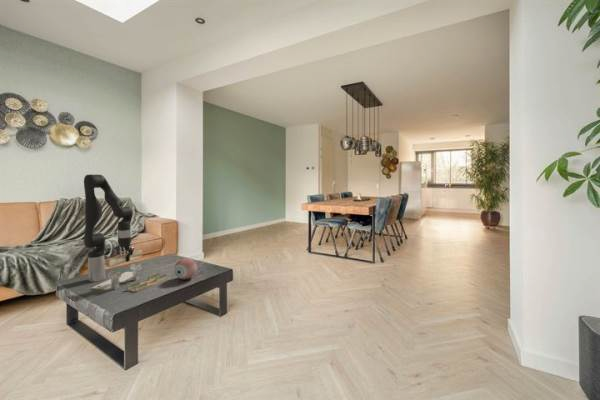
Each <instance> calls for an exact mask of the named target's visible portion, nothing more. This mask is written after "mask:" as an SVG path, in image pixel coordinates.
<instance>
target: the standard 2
mask: <svg viewBox="0 0 600 400" xmlns="http://www.w3.org/2000/svg"><path fill="white" fill-rule="evenodd" d="M142 269H143V268H142V264H141V263H139V264H137V265H136V263H132V264H130V265H129V270H130V271H131V272H132V273H133V277H132V281H134V282H138V281H140V278H141V277H140V276H141V275H140V273H141V272H140V270H142Z"/></svg>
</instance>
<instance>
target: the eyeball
mask: <svg viewBox="0 0 600 400" xmlns="http://www.w3.org/2000/svg"><path fill="white" fill-rule="evenodd" d="M175 263H176V264H174V269H173V271H174V275H175V276H176V278H178V279H180V280H190V279H191V278H192V277H194V276H195V274H196V272H197V271H198V270H197V268H198V267H197V262H196V261H194V260H193V258H189V257H184V258H181V259H179V260H178V261H177V262H175Z"/></svg>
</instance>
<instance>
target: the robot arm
mask: <svg viewBox="0 0 600 400" xmlns="http://www.w3.org/2000/svg"><path fill="white" fill-rule="evenodd" d="M83 187H84V198H85V200H84V201H85V205H84V206H85V208H84V215H85V217H84V218H85V222H84V223H85V225H84V234H83V244H84V246H85V248H87V249H90V248H94V249H93V250H91V251H89V252H88V253H87V261H88V262H87V265H88V267H87V280H88V281H89V282H91V283H93V282H100V281H103V280H105V279H106V259H105V251H106V238H105V235H104V234H103V233H101V232H99V233H94V231H95V230H94V229H95V227H96V226H97V224H98V223H99V221H100V220H101V218H102V216H103V206H102V203H101V202H100V201H99V200H98V198H97V197H96V193H95V189H98V188H99V189H101V190H102V191H103V192H104V200H105V202H106V203H107V205H108V206H110V208H111V210H112V213H113V215H114V216H115V217H116V218H118V219H121V220H120V221H119V222H117V245H116V246H115V249H116V253H117V256H119V255H122V254H126V262H125V263H128V262H130V261H131V260H130V255H132V254H133V251H135V247H134V246H131V243H132V231H131V223H132V219H133V216H134V211H133V209H132V207H130V206H123V201H122V200H121V199H120V197H119V196H117V195H116V193H115V192H114V190H113V188H112V187H111V185H110V184H109V182H108V180H107V179H106V178H105V176H104V175H102V174H86V175H84V178H83ZM122 206H123V207H122ZM127 253H128V254H127Z"/></svg>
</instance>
